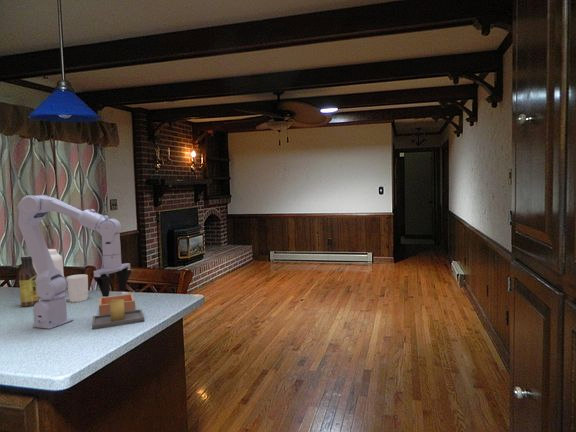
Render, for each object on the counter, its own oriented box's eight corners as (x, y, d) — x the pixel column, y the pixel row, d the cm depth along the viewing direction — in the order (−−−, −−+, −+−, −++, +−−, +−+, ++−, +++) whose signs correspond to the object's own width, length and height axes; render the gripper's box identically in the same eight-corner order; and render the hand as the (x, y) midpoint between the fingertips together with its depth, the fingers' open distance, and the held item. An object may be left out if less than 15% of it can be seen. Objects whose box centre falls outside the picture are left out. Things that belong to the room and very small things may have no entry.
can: (48, 298, 177) (45, 252, 175) (25, 297, 180) (22, 251, 179) (71, 291, 189) (68, 247, 187) (49, 290, 192) (46, 247, 191)
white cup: (93, 297, 176) (91, 274, 175) (82, 302, 168) (80, 278, 168) (75, 297, 177) (74, 274, 176) (64, 302, 169) (62, 278, 168)
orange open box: (135, 311, 153) (134, 300, 152) (99, 316, 148) (98, 305, 148) (133, 303, 164) (132, 293, 163) (99, 308, 159) (99, 297, 159)
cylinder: (117, 321, 139) (116, 302, 139) (108, 320, 141) (107, 301, 140) (127, 317, 143) (126, 299, 143) (118, 316, 145) (117, 298, 144)
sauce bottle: (37, 305, 166) (33, 256, 164) (19, 307, 163) (15, 258, 162) (40, 301, 172) (37, 254, 170) (23, 303, 169) (19, 255, 168)
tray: (144, 321, 140) (144, 317, 140) (92, 329, 134) (92, 325, 134) (141, 313, 150) (141, 309, 150) (93, 320, 144) (92, 316, 144)
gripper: (104, 258, 133) (107, 299, 134) (136, 251, 147) (138, 289, 148) (87, 257, 136) (90, 298, 137) (120, 250, 149) (122, 288, 150)
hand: (114, 293), depth 142 cm, fingers open, 7 cm apart
